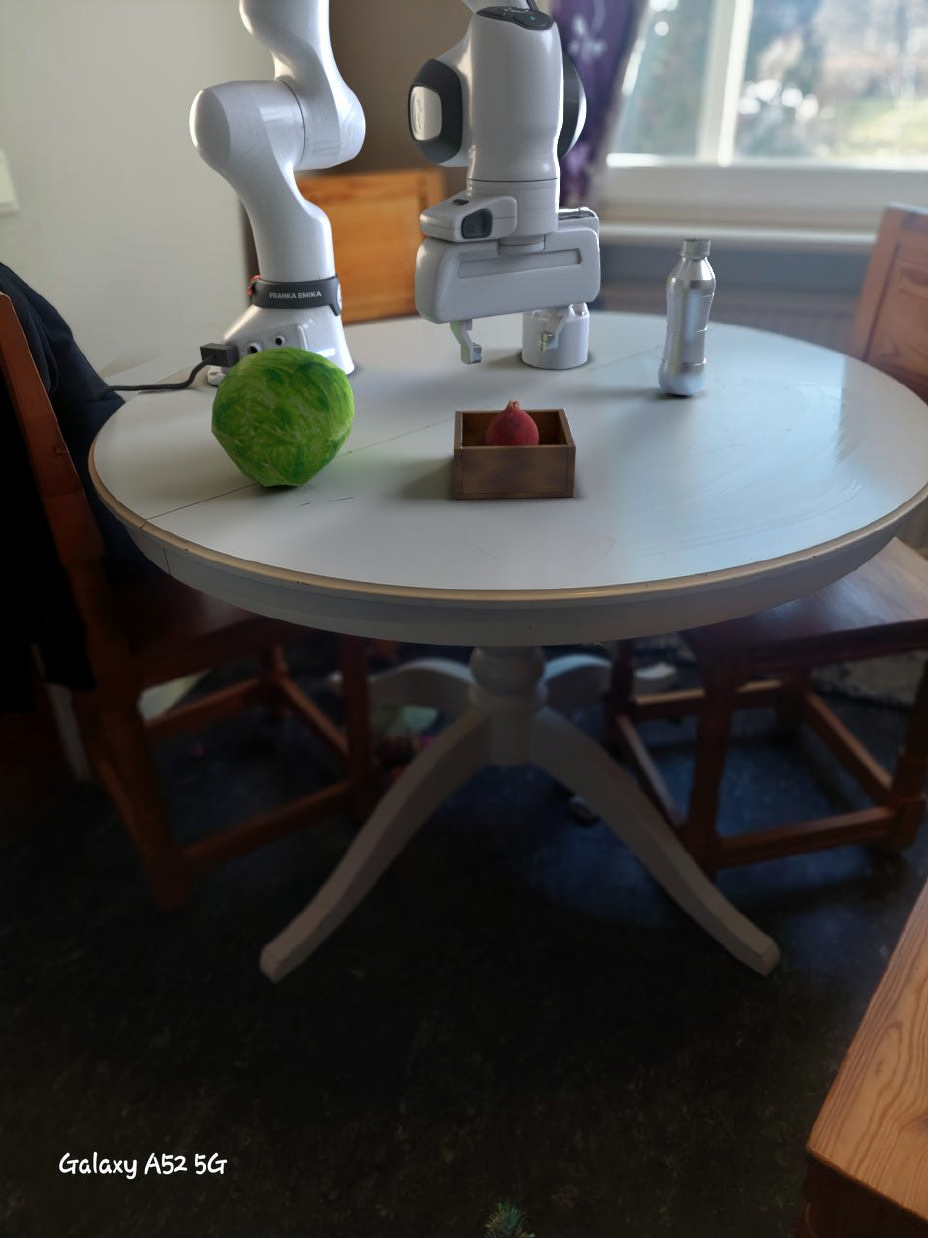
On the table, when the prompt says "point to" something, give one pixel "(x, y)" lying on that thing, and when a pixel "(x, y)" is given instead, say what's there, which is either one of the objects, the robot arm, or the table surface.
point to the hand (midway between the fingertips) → (510, 355)
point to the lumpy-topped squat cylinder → (569, 339)
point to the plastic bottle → (687, 319)
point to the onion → (512, 428)
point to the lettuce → (283, 415)
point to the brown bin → (513, 458)
